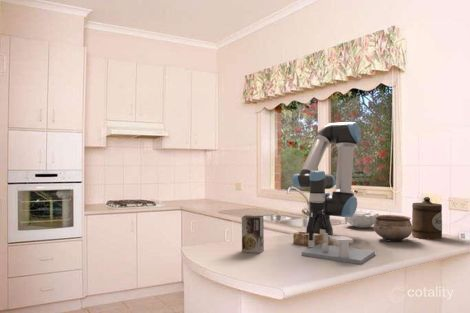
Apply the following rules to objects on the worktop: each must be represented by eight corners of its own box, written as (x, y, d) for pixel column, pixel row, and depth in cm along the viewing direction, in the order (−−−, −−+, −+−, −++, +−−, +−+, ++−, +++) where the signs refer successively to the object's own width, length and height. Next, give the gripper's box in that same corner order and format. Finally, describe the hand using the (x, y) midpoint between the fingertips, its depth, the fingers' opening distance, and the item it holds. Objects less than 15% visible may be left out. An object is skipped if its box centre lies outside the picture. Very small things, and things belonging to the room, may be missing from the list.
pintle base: (300, 255, 170) (300, 235, 170) (319, 247, 187) (319, 228, 187) (360, 264, 155) (359, 242, 155) (374, 254, 172) (374, 234, 173)
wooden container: (442, 240, 203) (441, 198, 204) (411, 238, 210) (410, 197, 211) (442, 235, 216) (441, 196, 217) (413, 233, 223) (412, 195, 224)
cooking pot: (399, 246, 188) (399, 221, 188) (363, 240, 202) (363, 217, 203) (421, 240, 205) (421, 216, 205) (387, 234, 219) (386, 213, 219)
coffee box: (264, 250, 181) (264, 215, 181) (260, 253, 175) (260, 217, 175) (245, 248, 184) (245, 214, 184) (241, 251, 178) (241, 216, 178)
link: (293, 243, 196) (293, 233, 197) (299, 240, 202) (299, 231, 202) (328, 247, 186) (328, 237, 186) (333, 245, 192) (333, 235, 192)
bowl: (362, 224, 258) (362, 208, 258) (386, 228, 239) (386, 212, 239) (337, 226, 249) (337, 210, 249) (359, 231, 230) (359, 214, 231)
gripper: (314, 204, 181) (314, 250, 180) (333, 200, 201) (333, 241, 201) (299, 203, 185) (299, 247, 184) (320, 199, 205) (320, 239, 205)
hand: (317, 244), depth 193 cm, fingers open, 13 cm apart
